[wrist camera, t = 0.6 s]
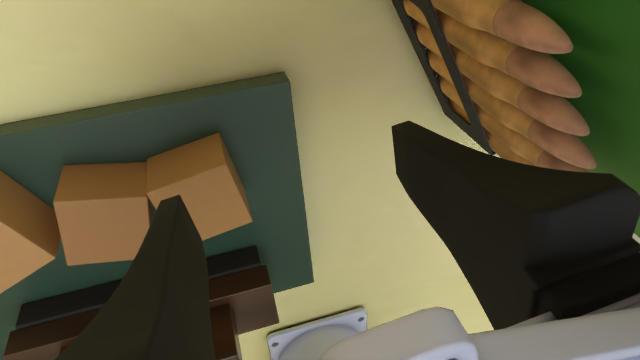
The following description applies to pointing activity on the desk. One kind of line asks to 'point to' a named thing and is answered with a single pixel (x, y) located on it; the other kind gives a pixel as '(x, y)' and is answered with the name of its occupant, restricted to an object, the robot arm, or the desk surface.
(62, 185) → the light brown cube
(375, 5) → the desk surface
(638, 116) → the hardback book
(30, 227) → the wooden block
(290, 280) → the desk board
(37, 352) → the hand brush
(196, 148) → the cardboard box
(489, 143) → the ammunition clip
